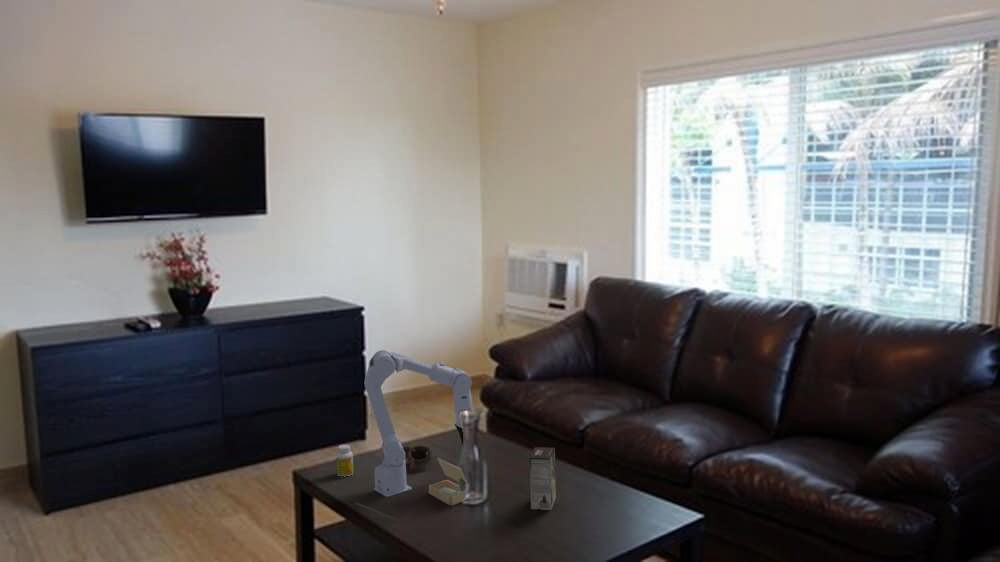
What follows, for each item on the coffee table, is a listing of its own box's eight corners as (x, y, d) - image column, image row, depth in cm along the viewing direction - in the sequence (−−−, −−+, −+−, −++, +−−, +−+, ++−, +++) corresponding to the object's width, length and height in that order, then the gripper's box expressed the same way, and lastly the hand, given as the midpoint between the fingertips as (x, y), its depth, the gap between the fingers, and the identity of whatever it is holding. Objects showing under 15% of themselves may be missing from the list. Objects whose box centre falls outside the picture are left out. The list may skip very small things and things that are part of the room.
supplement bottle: (335, 477, 260) (334, 449, 259) (339, 471, 265) (337, 443, 264) (351, 477, 260) (350, 449, 259) (355, 471, 265) (353, 443, 264)
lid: (460, 469, 236) (461, 468, 236) (437, 458, 245) (438, 457, 246) (468, 486, 238) (469, 485, 239) (445, 475, 248) (446, 474, 248)
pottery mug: (438, 463, 273) (437, 447, 267) (424, 483, 266) (423, 467, 261) (409, 450, 277) (407, 434, 272) (394, 469, 270) (392, 454, 265)
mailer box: (450, 506, 235) (450, 497, 235) (428, 494, 245) (428, 485, 244) (469, 500, 239) (469, 491, 239) (447, 488, 249) (447, 479, 248)
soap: (450, 500, 239) (449, 494, 239) (438, 496, 242) (438, 489, 242) (457, 497, 241) (456, 490, 241) (445, 493, 244) (445, 486, 244)
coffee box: (535, 496, 241) (534, 446, 239) (556, 498, 240) (555, 447, 237) (530, 509, 232) (529, 457, 230) (552, 510, 231) (551, 458, 229)
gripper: (480, 412, 246) (485, 453, 248) (471, 399, 260) (475, 439, 262) (458, 416, 244) (463, 457, 246) (450, 403, 258) (455, 442, 260)
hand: (468, 448), depth 254 cm, fingers open, 7 cm apart
